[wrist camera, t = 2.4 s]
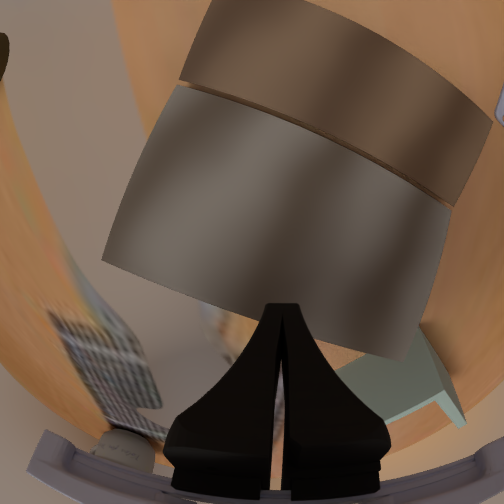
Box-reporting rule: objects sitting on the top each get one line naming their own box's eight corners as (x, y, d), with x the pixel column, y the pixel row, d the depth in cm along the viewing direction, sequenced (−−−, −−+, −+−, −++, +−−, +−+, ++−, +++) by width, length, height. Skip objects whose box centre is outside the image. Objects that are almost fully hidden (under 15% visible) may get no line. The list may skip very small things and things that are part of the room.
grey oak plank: (437, 212, 17) (451, 210, 15) (391, 354, 16) (403, 362, 15) (180, 97, 15) (176, 84, 13) (111, 258, 15) (101, 260, 13)
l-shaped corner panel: (309, 382, 27) (311, 447, 20) (416, 321, 22) (444, 389, 15) (363, 416, 30) (370, 467, 24) (448, 372, 25) (467, 423, 19)
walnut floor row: (480, 118, 13) (493, 121, 12) (443, 198, 16) (453, 206, 15) (227, -13, 11) (223, -22, 10) (187, 81, 14) (178, 79, 13)
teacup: (147, 429, 37) (134, 470, 30) (168, 453, 43) (159, 488, 36) (83, 412, 39) (67, 446, 32) (109, 438, 44) (97, 468, 37)
